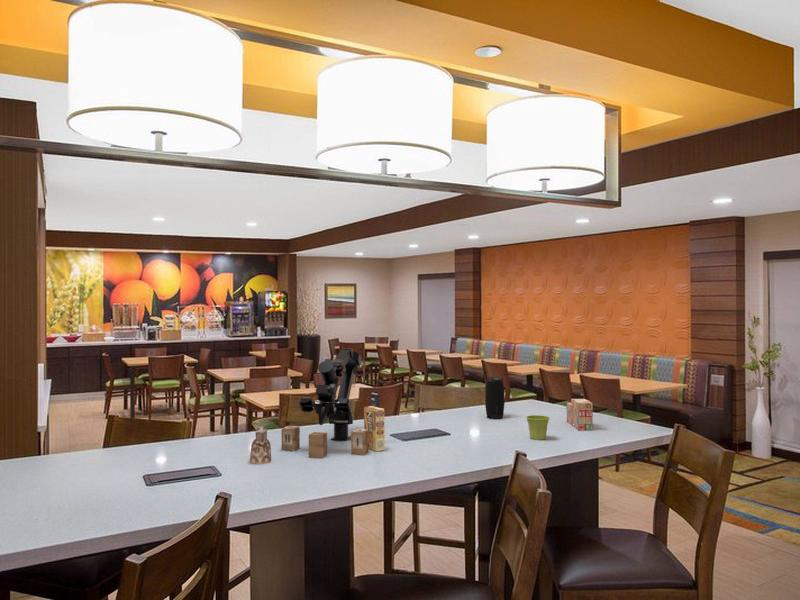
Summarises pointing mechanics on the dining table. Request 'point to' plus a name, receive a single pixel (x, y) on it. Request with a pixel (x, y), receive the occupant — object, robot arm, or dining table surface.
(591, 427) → the patterned cardboard box
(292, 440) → the tile block
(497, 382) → the portable speaker
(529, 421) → the plant pot
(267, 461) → the figurine
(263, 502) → the dining table surface
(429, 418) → the dining table surface
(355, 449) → the tile block
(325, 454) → the plain block
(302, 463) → the dining table surface
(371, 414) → the candy box
